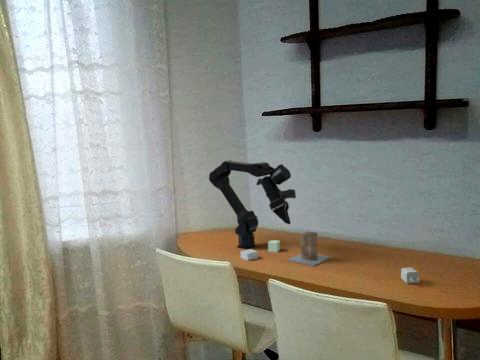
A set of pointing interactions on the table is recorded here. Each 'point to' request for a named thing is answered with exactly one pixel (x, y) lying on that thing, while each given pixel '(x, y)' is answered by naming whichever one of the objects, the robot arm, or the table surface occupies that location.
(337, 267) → the table surface
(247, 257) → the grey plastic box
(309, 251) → the walnut pillar
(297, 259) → the slate coaster
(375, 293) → the table surface
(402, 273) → the usb wall charger
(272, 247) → the pale green cube
